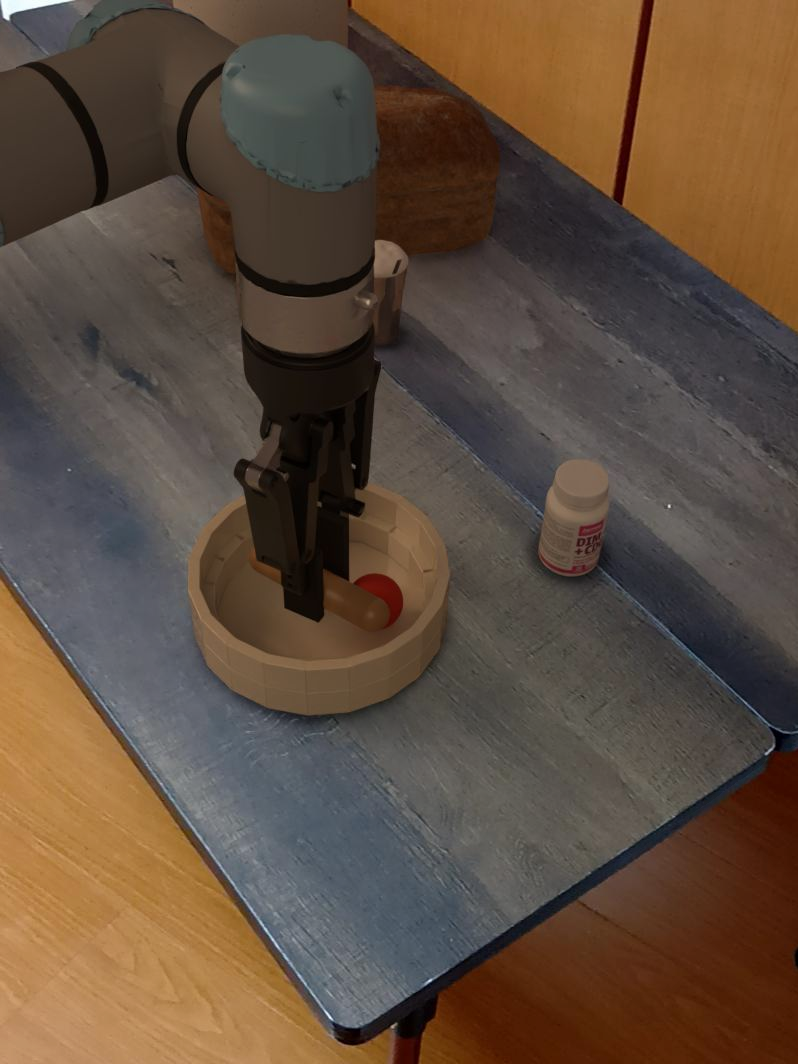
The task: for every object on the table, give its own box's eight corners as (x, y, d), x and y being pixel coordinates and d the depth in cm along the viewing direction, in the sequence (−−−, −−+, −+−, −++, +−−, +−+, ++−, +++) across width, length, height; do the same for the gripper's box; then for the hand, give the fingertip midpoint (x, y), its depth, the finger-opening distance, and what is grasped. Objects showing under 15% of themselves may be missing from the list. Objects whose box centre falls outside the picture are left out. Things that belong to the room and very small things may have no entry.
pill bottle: (578, 588, 99) (593, 510, 93) (525, 559, 101) (536, 481, 95) (610, 551, 102) (626, 473, 96) (559, 523, 104) (571, 445, 98)
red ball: (350, 639, 91) (350, 583, 90) (341, 621, 94) (342, 567, 93) (407, 636, 92) (408, 581, 91) (397, 618, 96) (398, 565, 95)
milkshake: (374, 362, 115) (375, 266, 107) (345, 327, 118) (344, 232, 110) (419, 347, 117) (423, 252, 109) (390, 313, 120) (392, 219, 112)
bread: (188, 221, 126) (173, 81, 116) (467, 188, 135) (475, 56, 124) (213, 296, 119) (199, 154, 108) (506, 256, 127) (519, 121, 117)
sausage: (399, 614, 90) (392, 600, 88) (380, 642, 89) (373, 629, 87) (267, 543, 94) (257, 528, 92) (247, 570, 93) (237, 556, 91)
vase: (176, 84, 143) (150, -151, 125) (331, 75, 148) (327, -153, 130) (196, 168, 132) (172, -76, 115) (363, 156, 137) (364, -80, 119)
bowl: (194, 733, 87) (186, 678, 83) (196, 538, 99) (189, 481, 95) (458, 712, 90) (464, 659, 86) (431, 526, 102) (434, 470, 98)
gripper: (290, 422, 69) (303, 696, 85) (431, 273, 79) (418, 543, 96) (168, 374, 70) (205, 652, 87) (323, 234, 81) (329, 507, 98)
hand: (317, 595), depth 91 cm, fingers closed on sausage, 3 cm apart
